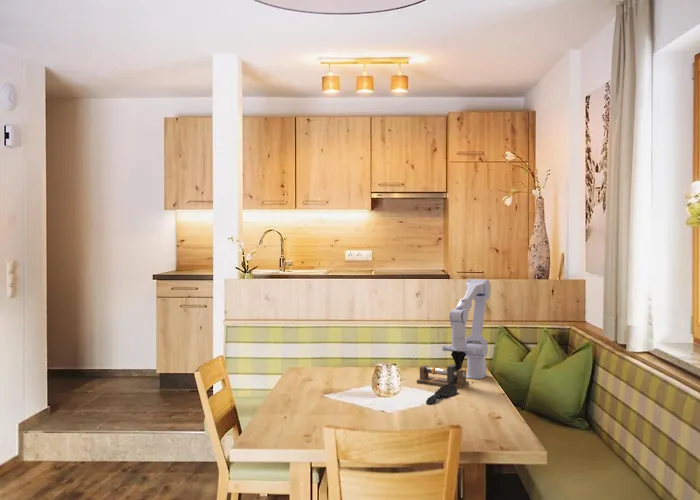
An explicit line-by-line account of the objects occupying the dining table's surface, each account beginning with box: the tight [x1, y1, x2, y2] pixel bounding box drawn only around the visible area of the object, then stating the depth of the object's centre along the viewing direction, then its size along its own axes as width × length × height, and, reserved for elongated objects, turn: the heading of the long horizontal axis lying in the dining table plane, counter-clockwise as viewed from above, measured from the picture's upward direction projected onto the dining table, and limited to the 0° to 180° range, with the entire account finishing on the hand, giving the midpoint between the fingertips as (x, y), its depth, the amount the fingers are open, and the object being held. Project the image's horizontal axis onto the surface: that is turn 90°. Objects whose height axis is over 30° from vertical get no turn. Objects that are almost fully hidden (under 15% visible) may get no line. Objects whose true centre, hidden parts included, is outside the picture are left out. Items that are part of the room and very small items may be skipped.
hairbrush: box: [425, 382, 458, 406], centre depth 268 cm, size 8×4×25 cm
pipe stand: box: [416, 364, 470, 390], centre depth 292 cm, size 10×20×6 cm, turn 56°
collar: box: [446, 363, 460, 383], centre depth 289 cm, size 7×2×7 cm, turn 146°
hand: (458, 369), depth 287 cm, fingers closed
